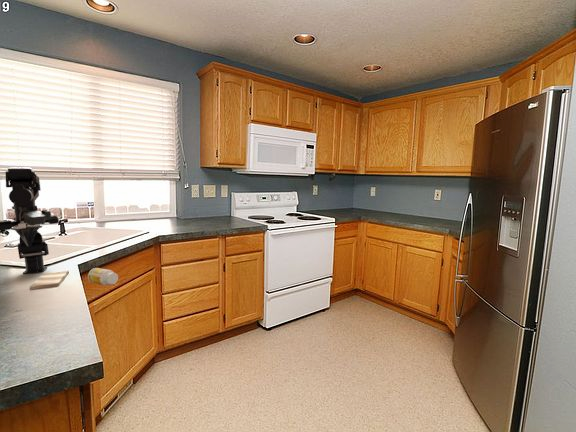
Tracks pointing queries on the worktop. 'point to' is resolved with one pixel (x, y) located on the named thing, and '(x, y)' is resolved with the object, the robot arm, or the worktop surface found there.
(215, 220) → the worktop surface
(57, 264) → the worktop surface
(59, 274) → the beige rectangular board
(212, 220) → the worktop surface
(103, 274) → the supplement bottle
